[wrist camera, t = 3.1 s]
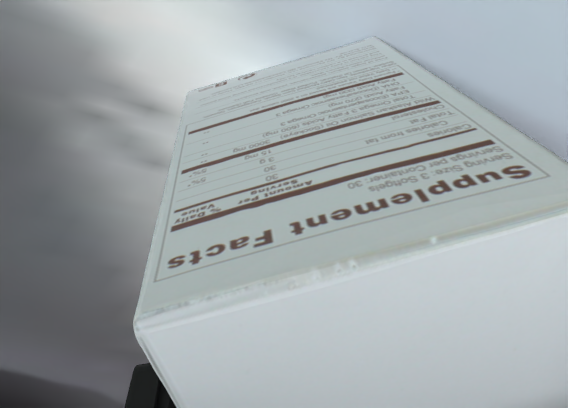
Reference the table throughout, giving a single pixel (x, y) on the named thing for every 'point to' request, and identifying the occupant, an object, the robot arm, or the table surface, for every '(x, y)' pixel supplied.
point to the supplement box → (356, 245)
